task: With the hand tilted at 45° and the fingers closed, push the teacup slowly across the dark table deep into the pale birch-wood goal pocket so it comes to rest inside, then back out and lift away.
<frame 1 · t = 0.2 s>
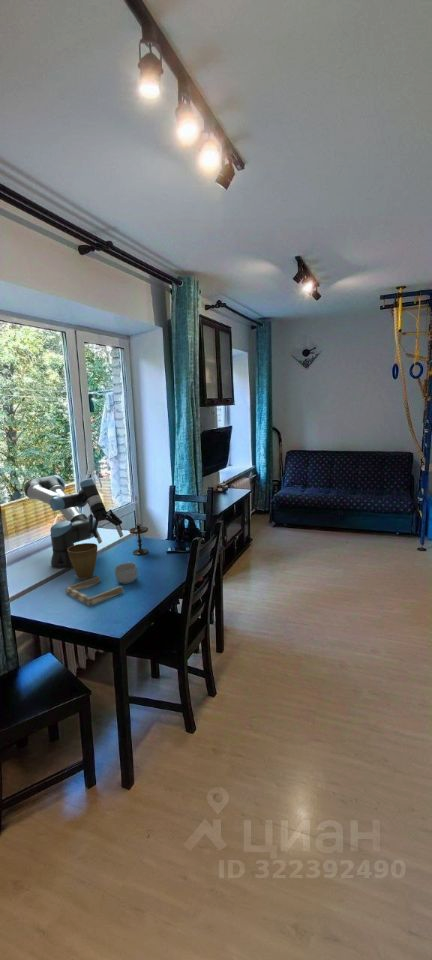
hand: (111, 539, 241), 16 cm above the table, tool tilted 35°, fingers open, 13 cm apart
goal pocket: (95, 592, 214), on the table
plant pot: (85, 576, 234), on the table
teacup: (128, 580, 227), on the table
candlestick: (140, 553, 266), on the table
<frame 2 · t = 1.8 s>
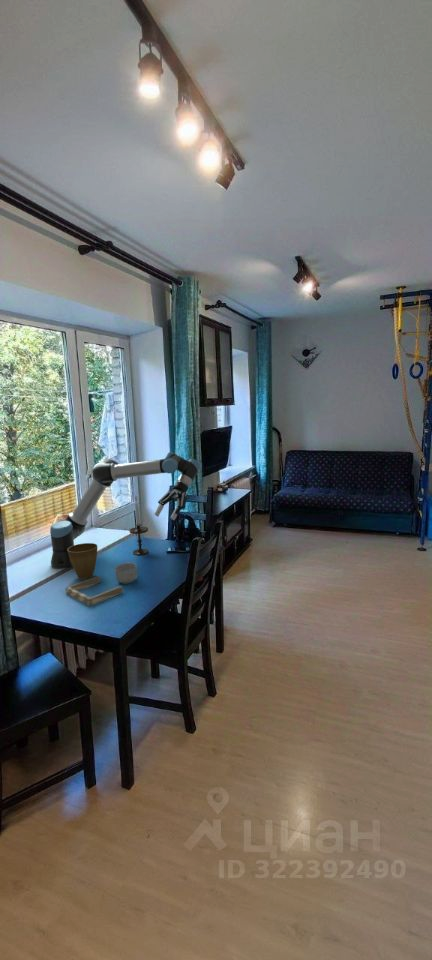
hand: (163, 517, 240), 27 cm above the table, tool tilted 45°, fingers open, 13 cm apart
nothing on the table moved.
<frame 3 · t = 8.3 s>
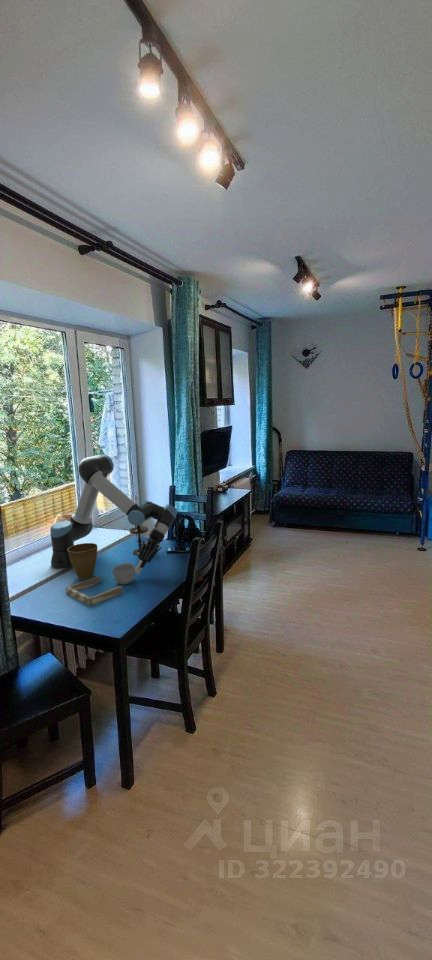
hand: (136, 572, 227), 3 cm above the table, tool tilted 45°, fingers closed
teacup: (126, 581, 226), on the table, touching gripper
everything else where it was.
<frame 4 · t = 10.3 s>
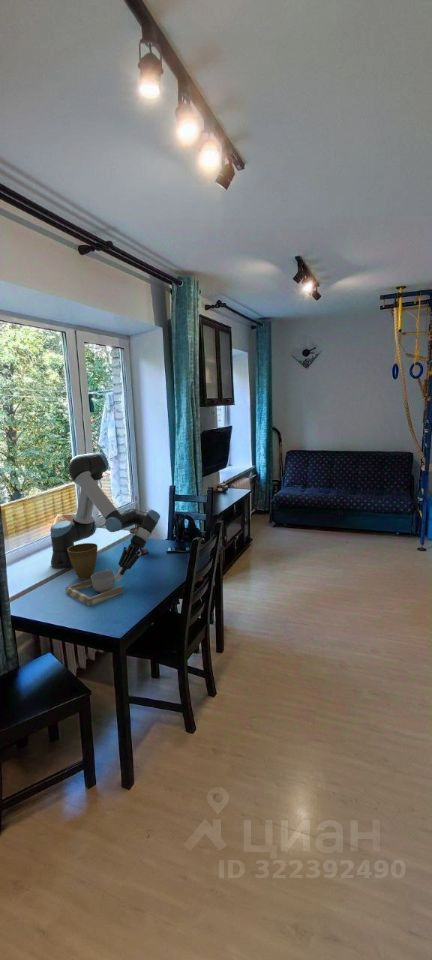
hand: (116, 580, 219), 3 cm above the table, tool tilted 45°, fingers closed
teacup: (105, 588, 218), on the table, touching gripper
everything else where it was.
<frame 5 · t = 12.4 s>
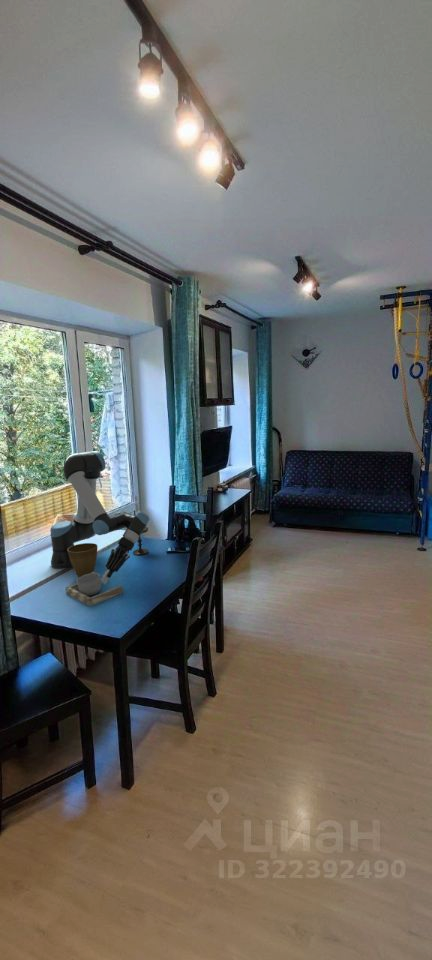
hand: (102, 582, 216), 4 cm above the table, tool tilted 45°, fingers closed
teacup: (92, 591, 215), on the table, touching gripper
everything else where it was.
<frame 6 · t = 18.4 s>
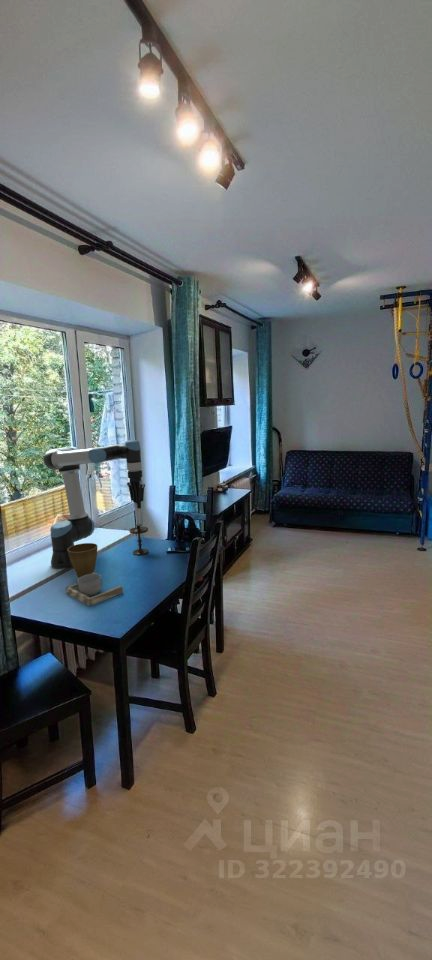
hand: (138, 514, 239), 29 cm above the table, tool pointing down, fingers closed
teacup: (92, 592, 215), on the table
everything else where it was.
at the end: teacup inside the target area on the goal pocket (2.3 cm from its centre), point 0.0 cm above the goal pocket's base; teacup tilted 0°; teacup moved 19.3 cm from its start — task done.
